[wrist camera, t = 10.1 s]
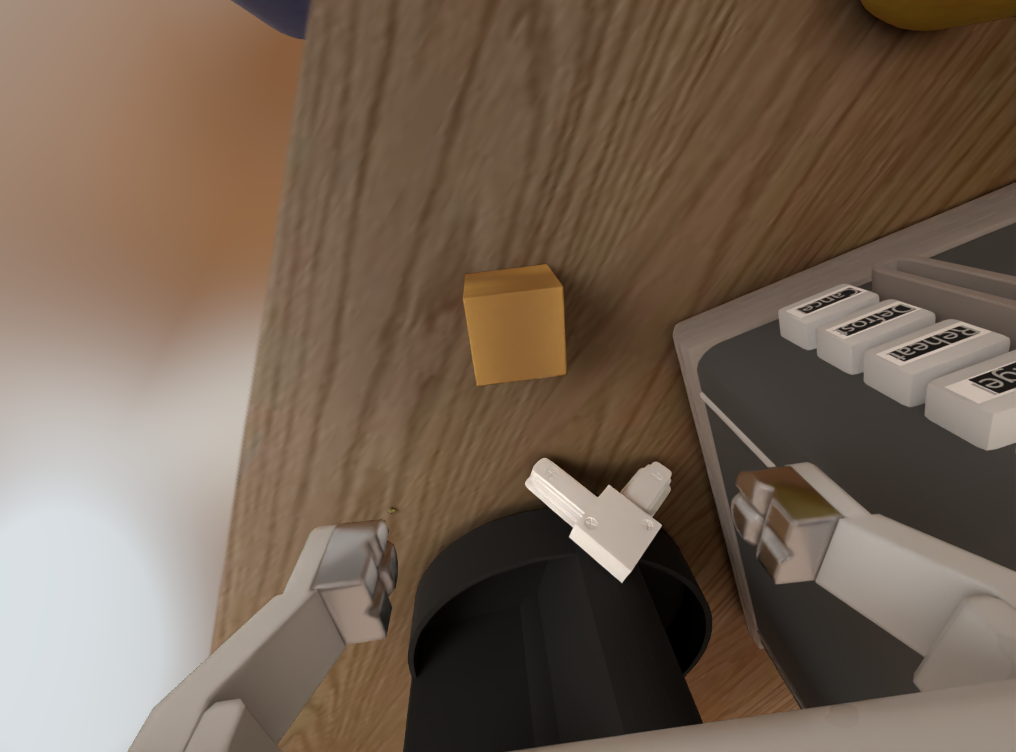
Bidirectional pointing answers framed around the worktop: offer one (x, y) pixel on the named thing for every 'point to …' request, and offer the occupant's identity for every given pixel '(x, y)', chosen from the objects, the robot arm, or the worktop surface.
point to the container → (549, 641)
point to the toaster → (867, 420)
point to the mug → (939, 12)
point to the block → (515, 324)
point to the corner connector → (606, 512)
